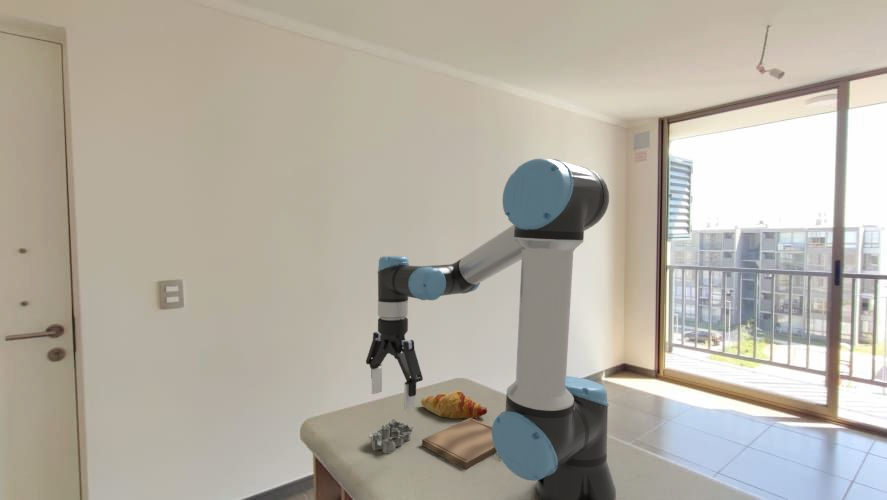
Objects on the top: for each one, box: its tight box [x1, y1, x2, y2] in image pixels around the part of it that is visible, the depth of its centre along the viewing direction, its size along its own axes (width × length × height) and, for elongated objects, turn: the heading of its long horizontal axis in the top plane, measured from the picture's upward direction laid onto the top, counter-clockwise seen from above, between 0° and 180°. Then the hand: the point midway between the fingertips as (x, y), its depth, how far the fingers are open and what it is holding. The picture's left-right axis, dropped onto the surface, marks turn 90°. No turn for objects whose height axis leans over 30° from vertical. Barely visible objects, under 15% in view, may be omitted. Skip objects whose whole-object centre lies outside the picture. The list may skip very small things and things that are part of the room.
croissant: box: [420, 390, 488, 420], centre depth 123 cm, size 21×10×8 cm, turn 67°
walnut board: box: [421, 418, 497, 470], centre depth 104 cm, size 15×18×2 cm
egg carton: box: [368, 418, 414, 454], centre depth 105 cm, size 11×8×4 cm
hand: (392, 400), depth 105 cm, fingers open, 13 cm apart
